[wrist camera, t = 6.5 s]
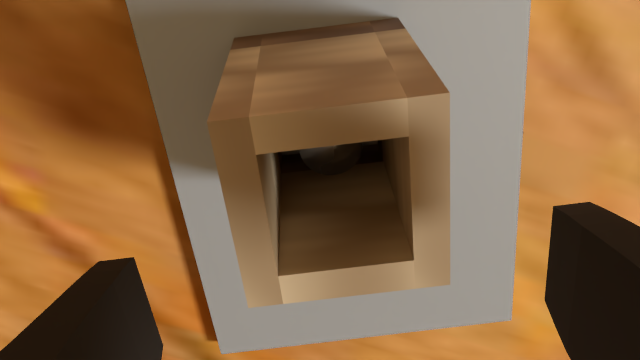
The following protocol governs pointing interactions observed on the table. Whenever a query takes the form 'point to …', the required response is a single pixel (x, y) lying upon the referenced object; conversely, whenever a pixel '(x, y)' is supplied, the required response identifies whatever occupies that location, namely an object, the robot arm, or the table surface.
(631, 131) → the table surface
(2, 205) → the table surface
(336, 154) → the steel pin
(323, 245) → the sleeve
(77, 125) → the table surface
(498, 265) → the board
